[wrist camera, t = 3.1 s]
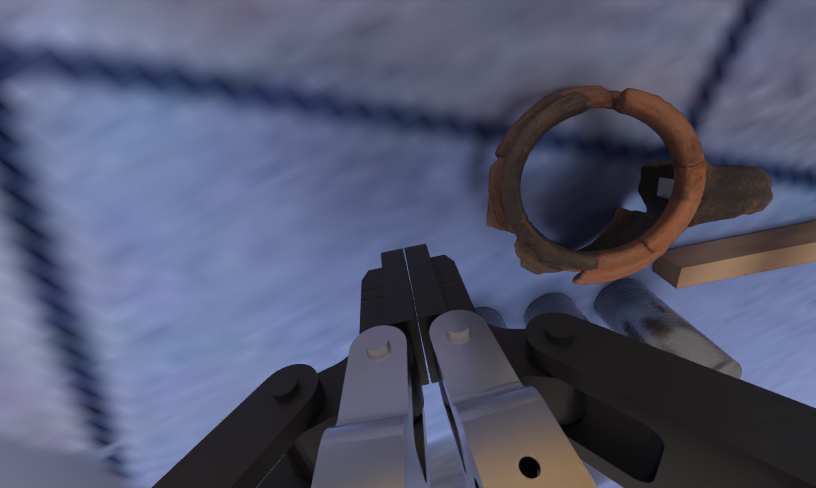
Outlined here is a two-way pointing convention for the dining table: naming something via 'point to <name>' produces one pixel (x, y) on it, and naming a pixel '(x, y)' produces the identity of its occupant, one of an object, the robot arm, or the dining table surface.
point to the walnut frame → (738, 255)
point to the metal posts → (636, 322)
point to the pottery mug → (659, 188)
